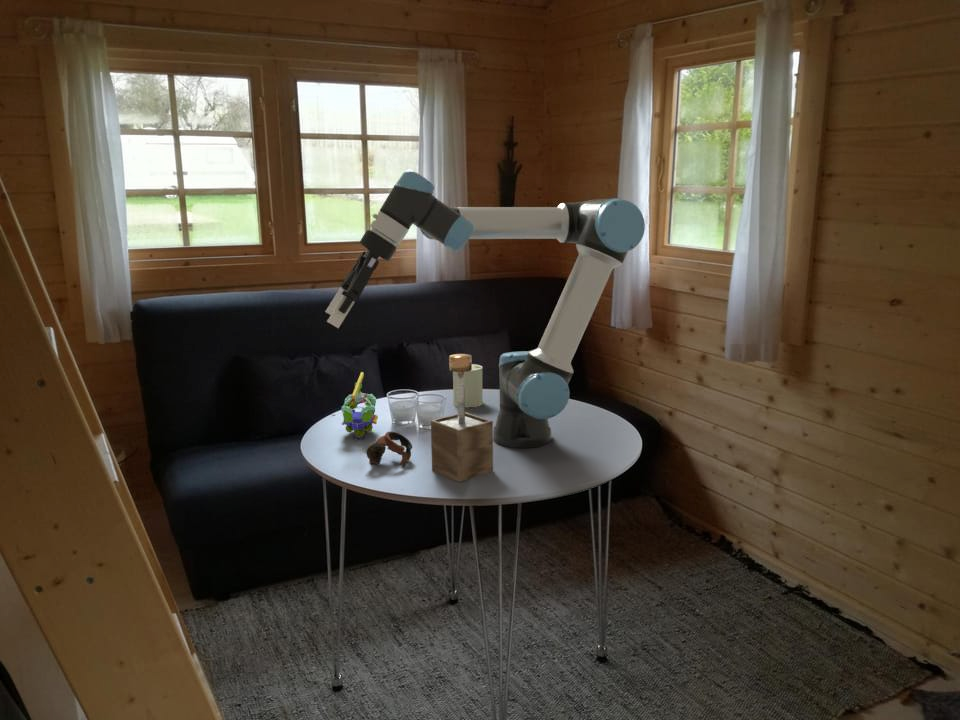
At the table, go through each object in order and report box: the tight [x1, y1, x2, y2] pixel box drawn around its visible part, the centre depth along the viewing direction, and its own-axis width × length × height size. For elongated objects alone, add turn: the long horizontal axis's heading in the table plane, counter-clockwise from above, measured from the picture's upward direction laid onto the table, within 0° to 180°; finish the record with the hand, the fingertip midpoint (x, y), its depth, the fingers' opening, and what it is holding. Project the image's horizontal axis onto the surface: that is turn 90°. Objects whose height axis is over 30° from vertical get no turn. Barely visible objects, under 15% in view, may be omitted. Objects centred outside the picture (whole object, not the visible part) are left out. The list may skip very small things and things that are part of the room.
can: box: [452, 363, 484, 409], centre depth 221 cm, size 9×9×12 cm
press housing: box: [430, 411, 494, 483], centre depth 166 cm, size 10×10×12 cm
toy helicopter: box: [341, 371, 379, 440], centre depth 192 cm, size 25×9×15 cm, turn 4°
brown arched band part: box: [366, 431, 413, 466], centre depth 172 cm, size 12×10×8 cm
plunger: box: [440, 353, 484, 429], centre depth 163 cm, size 8×8×16 cm
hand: (331, 319), depth 159 cm, fingers open, 13 cm apart
